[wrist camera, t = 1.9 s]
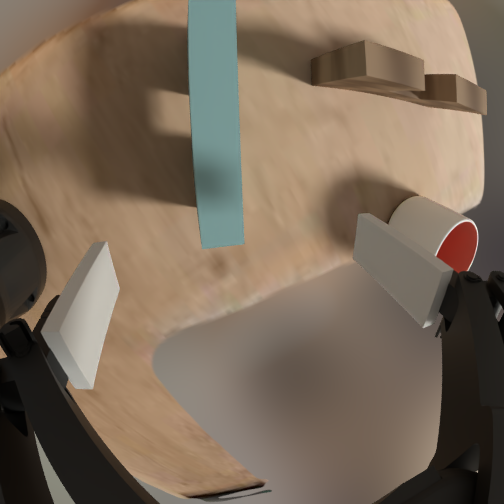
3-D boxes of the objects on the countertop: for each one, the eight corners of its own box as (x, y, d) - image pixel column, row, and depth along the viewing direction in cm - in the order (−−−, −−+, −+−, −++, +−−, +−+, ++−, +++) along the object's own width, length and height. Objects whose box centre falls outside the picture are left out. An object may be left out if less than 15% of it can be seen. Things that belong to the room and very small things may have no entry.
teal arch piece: (225, 204, 29) (244, 243, 20) (196, 207, 28) (202, 249, 20) (218, 34, 21) (235, -7, 12) (187, 35, 20) (188, -6, 12)
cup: (378, 207, 33) (431, 238, 24) (429, 184, 34) (481, 208, 25) (384, 268, 38) (426, 306, 29) (430, 242, 38) (473, 272, 30)
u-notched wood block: (311, 85, 25) (366, 75, 16) (311, 59, 24) (364, 40, 15) (429, 107, 28) (486, 115, 20) (428, 86, 27) (486, 90, 18)
